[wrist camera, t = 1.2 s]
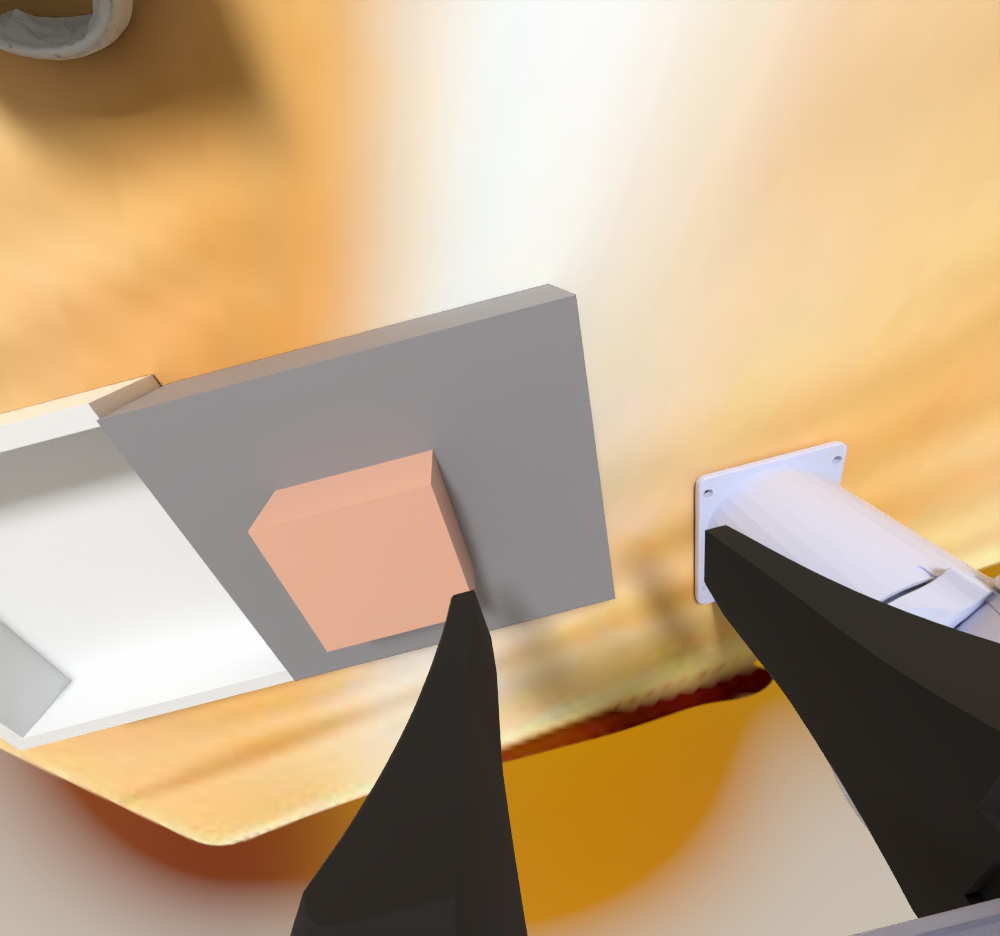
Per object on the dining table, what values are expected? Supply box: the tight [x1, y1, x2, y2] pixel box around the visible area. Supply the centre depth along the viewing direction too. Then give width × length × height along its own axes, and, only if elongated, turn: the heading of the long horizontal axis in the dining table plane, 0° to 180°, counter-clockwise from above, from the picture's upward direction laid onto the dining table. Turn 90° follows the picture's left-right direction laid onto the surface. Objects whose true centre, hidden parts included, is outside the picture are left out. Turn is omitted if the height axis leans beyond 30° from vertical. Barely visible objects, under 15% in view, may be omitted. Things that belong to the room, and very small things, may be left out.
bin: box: [0, 374, 294, 751], centre depth 19 cm, size 15×14×4 cm
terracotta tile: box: [248, 450, 476, 652], centre depth 16 cm, size 6×6×2 cm
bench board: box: [96, 284, 615, 681], centre depth 19 cm, size 14×16×4 cm
